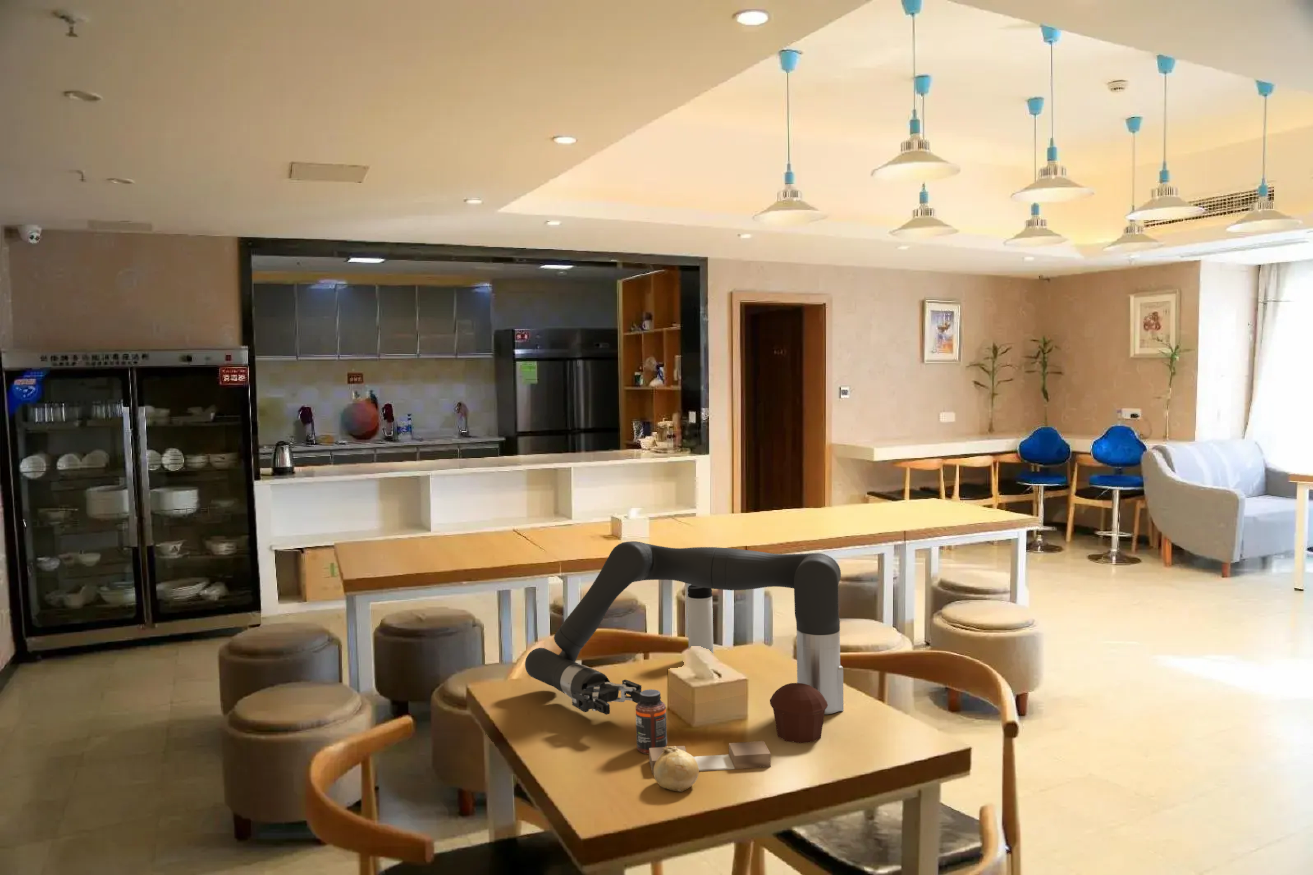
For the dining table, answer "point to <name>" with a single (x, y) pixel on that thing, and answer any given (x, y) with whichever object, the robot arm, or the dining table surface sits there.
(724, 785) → the dining table surface
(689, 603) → the travel mug
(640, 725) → the supplement bottle
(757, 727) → the dining table surface
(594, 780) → the dining table surface
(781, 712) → the muffin
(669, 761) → the onion
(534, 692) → the dining table surface
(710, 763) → the rail
